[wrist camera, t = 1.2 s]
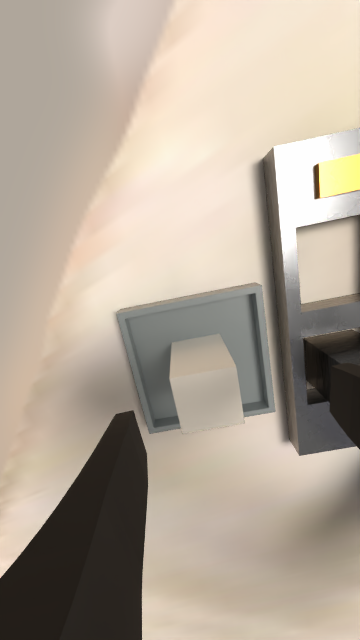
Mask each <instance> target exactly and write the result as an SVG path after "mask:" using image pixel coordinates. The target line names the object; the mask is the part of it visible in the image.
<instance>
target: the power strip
mask: <svg viewBox="0 0 360 640" xmlns="http://www.w3.org/2000/svg"><path fill="white" fill-rule="evenodd" d="M263 164H264V175H265V185H266V196H267V206H268V217H269V228H270V238H271V249H272V260H273V270H274V281H275V292H276V302H277V313H278V323H279V334H280V345H281V355H282V366H283V377H284V387H285V398H286V409H287V419H288V430H289V439H290V441H291V443H292V444H293V446H294V448H295V449H296V451H297V453H298V454H299V456H301V455H307V454H313V453H319V452H325V451H331V450H337V449H343V448H349V447H355V446H356V445H355V444H354V443H353V442H352V441H351V439H350V438H349V437H348V436H347V435H346V433H345V432H344V431H343V429H342V428H341V427H340V426H339V424H338V423H337V421H336V420H335V419H334V417H333V416H332V414H331V413H330V412H329V410H330V382H331V366H334V365H338V364H343V363H351V364H355V365H358V366H360V333H358V332H356V331H354V330H347V329H352V328H358V327H360V293H358V294H353V295H348V296H343V297H337V298H332V299H327V300H322V301H317V302H311V303H306V304H301V300H300V286H299V271H298V256H297V241H296V227H301V226H306V225H311V224H315V223H320V222H325V221H330V220H335V219H340V218H345V217H349V216H354V215H359V214H360V128H356V129H352V130H347V131H343V132H338V133H334V134H329V135H325V136H320V137H316V138H311V139H307V140H302V141H297V142H293V143H288V144H284V145H279V146H275V147H273V148H272V149H271V150H270V151H269V153H268V154H267V155H266V156H265V157H264V158H263ZM342 330H347V331H342ZM336 331H341V332H336ZM331 332H336V333H331ZM326 333H331V334H326ZM320 334H325V335H320ZM315 335H320V336H315ZM309 336H314V337H309ZM304 337H309V338H304ZM303 338H304V345H303ZM304 347H305V360H304ZM305 362H306V375H305ZM306 378H307V381H308V382H309V383H310V384H311V385H312V386H313V387H314V388H315V389H309V390H306Z"/></svg>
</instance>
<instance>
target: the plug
mask: <svg viewBox="0 0 360 640" xmlns="http://www.w3.org/2000/svg"><path fill="white" fill-rule="evenodd" d="M169 379H170V384H171V388H172V392H173V396H174V401H175V405H176V409H177V414H178V418H179V422H180V426H181V431H182V434H186V433H192V432H198V431H204V430H209V429H215V428H221V427H227V426H232V425H238V424H244V423H245V421H244V415H243V408H242V401H241V395H240V388H239V381H238V375H237V368H236V365H235V363H234V361H233V359H232V357H231V355H230V353H229V351H228V349H227V347H226V345H225V344H224V342H223V340H222V338H221V336H220V334H214V335H209V336H204V337H199V338H193V339H188V340H183V341H177V342H172V345H171V361H170V377H169Z"/></svg>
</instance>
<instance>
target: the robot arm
mask: <svg viewBox="0 0 360 640" xmlns="http://www.w3.org/2000/svg"><path fill="white" fill-rule="evenodd" d="M329 412H330V413H331V414H332V416H333V417H334V419H335V420H336V421H337V423H338V424H339V426H340V427H341V428H342V429H343V431H344V432H345V433H346V435H347V436H348V437H349V438H350V439H351V441H352V442H353V443H354V444H355V445H356V446H357V447H358V448H359V449H360V366H358V365H355V364H351V363H343V364H338V365H334V366H331V382H330V410H329ZM147 493H148V470H147V453H146V450H145V446H144V443H143V440H142V437H141V434H140V430H139V427H138V424H137V421H136V418H135V414H134V411H128V412H124V413H119V414H116V415H115V416H114V418H113V420H112V421H111V423H110V425H109V426H108V428H107V430H106V431H105V433H104V435H103V436H102V438H101V440H100V441H99V443H98V445H97V446H96V448H95V450H94V451H93V453H92V455H91V456H90V458H89V459H88V461H87V462H86V464H85V466H84V467H83V469H82V470H81V472H80V473H79V475H78V477H77V478H76V480H75V481H74V482H73V484H72V485H71V487H70V488H69V490H68V491H67V493H66V494H65V496H64V497H63V498H62V500H61V501H60V503H59V504H58V506H57V507H56V508H55V510H54V511H53V513H52V514H51V515H50V517H49V518H48V519H47V521H46V522H45V523H44V525H43V526H42V527H41V529H40V530H39V531H38V533H37V534H36V535H35V537H34V538H33V539H32V540H31V542H30V543H29V544H28V546H27V547H26V548H25V549H24V551H23V552H22V553H21V554H20V556H19V557H18V558H17V559H16V560H15V562H14V563H13V564H12V565H11V566H10V568H9V569H8V570H7V571H6V572H5V573H4V575H3V576H2V577H1V578H0V640H142V570H143V555H144V540H145V525H146V510H147Z"/></svg>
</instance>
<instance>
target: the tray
mask: <svg viewBox="0 0 360 640" xmlns="http://www.w3.org/2000/svg"><path fill="white" fill-rule="evenodd" d="M117 318H118V322H119V325H120V329H121V332H122V336H123V340H124V343H125V347H126V350H127V354H128V358H129V361H130V365H131V369H132V372H133V376H134V379H135V383H136V387H137V390H138V394H139V398H140V401H141V405H142V408H143V412H144V416H145V419H146V423H147V426H148V430H149V434H151V433H157V432H163V431H168V430H174V429H180V428H181V426H180V422H179V418H178V414H177V409H176V405H175V401H174V396H173V392H172V388H171V384H170V379H169V377H170V361H171V345H172V342H177V341H183V340H188V339H193V338H199V337H204V336H209V335H214V334H220V336H221V338H222V340H223V342H224V344H225V345H226V347H227V349H228V351H229V353H230V355H231V357H232V359H233V361H234V363H235V365H236V368H237V375H238V381H239V388H240V395H241V401H242V408H243V415H244V417H249V416H254V415H260V414H266V413H271V412H275V403H274V394H273V385H272V375H271V366H270V357H269V348H268V339H267V329H266V320H265V311H264V302H263V292H262V285H260V284H258V283H251V284H246V285H241V286H236V287H230V288H225V289H220V290H215V291H210V292H205V293H200V294H195V295H190V296H185V297H180V298H175V299H170V300H165V301H160V302H155V303H150V304H145V305H139V306H134V307H129V308H124V309H120V310H119V311H118V313H117Z"/></svg>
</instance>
